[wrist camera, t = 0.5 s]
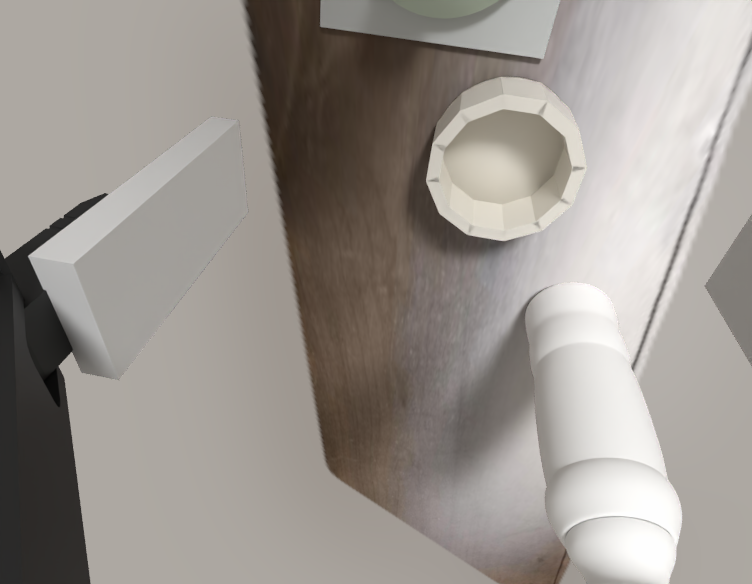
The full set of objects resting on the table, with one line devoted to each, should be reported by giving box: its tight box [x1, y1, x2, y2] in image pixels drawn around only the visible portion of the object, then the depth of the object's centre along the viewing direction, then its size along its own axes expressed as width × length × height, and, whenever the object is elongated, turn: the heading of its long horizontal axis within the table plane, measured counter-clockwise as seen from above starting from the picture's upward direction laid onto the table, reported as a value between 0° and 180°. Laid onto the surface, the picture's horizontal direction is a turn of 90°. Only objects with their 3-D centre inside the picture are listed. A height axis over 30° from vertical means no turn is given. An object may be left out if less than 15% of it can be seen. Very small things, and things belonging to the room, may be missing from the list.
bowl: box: [426, 76, 587, 241], centre depth 32 cm, size 9×9×4 cm
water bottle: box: [525, 282, 682, 584], centre depth 31 cm, size 7×7×25 cm
